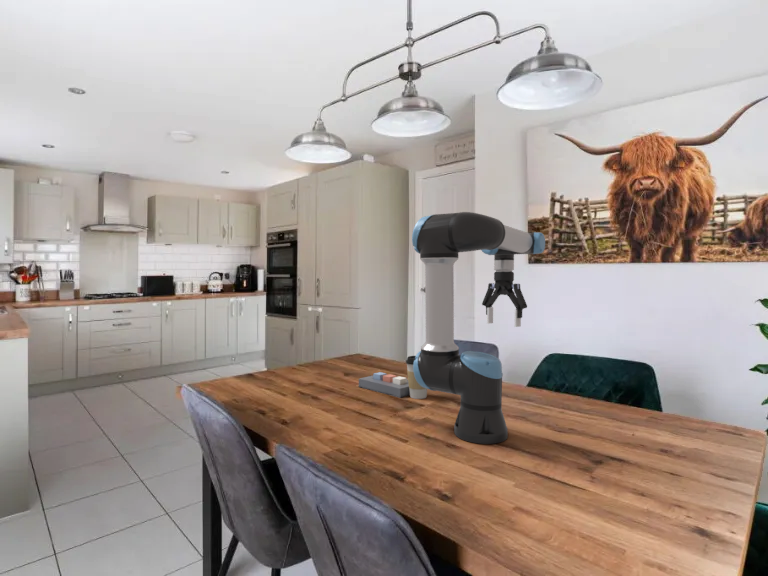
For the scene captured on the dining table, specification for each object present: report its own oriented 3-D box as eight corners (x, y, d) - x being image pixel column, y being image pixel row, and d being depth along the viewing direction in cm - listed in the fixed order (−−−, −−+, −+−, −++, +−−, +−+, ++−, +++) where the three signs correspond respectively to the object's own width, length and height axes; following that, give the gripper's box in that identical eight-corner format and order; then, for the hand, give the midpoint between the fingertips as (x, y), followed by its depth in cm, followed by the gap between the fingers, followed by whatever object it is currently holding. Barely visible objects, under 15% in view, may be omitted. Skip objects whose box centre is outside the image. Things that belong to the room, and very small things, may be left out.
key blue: (380, 381, 177) (380, 375, 177) (373, 379, 179) (373, 373, 179) (386, 379, 180) (386, 373, 179) (379, 378, 182) (380, 372, 182)
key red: (389, 383, 173) (389, 377, 173) (382, 381, 176) (382, 375, 176) (396, 381, 176) (396, 375, 176) (389, 380, 178) (389, 374, 178)
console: (400, 397, 163) (400, 388, 163) (358, 387, 179) (358, 378, 179) (421, 391, 172) (421, 382, 172) (380, 381, 188) (380, 373, 188)
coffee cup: (432, 400, 160) (432, 360, 160) (405, 400, 160) (406, 359, 160) (430, 393, 170) (430, 355, 169) (405, 393, 170) (405, 355, 170)
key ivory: (400, 385, 169) (400, 379, 169) (392, 384, 172) (392, 377, 172) (406, 384, 172) (406, 377, 172) (399, 382, 175) (399, 376, 175)
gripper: (537, 271, 162) (536, 327, 163) (486, 271, 183) (485, 321, 183) (524, 270, 158) (523, 328, 158) (473, 271, 178) (473, 322, 179)
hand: (503, 325), depth 171 cm, fingers open, 13 cm apart
